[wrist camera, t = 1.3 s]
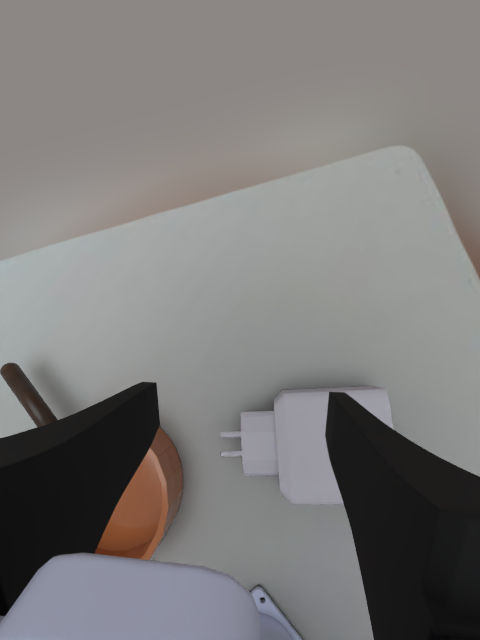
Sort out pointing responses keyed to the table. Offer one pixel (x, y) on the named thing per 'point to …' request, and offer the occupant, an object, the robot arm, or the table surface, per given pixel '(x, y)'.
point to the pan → (146, 504)
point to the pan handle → (27, 395)
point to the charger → (299, 441)
